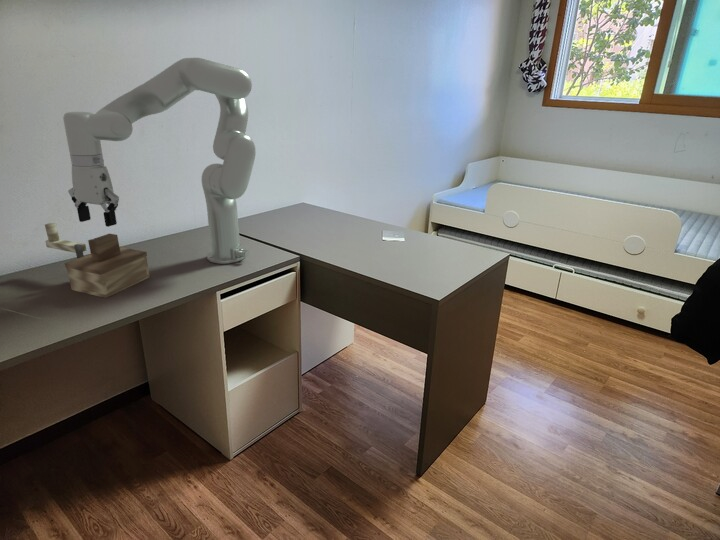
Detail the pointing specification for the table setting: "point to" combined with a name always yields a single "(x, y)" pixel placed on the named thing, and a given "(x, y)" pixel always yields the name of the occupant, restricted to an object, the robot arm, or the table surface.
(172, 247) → the table surface
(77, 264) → the lid
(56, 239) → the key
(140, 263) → the light wooden box
